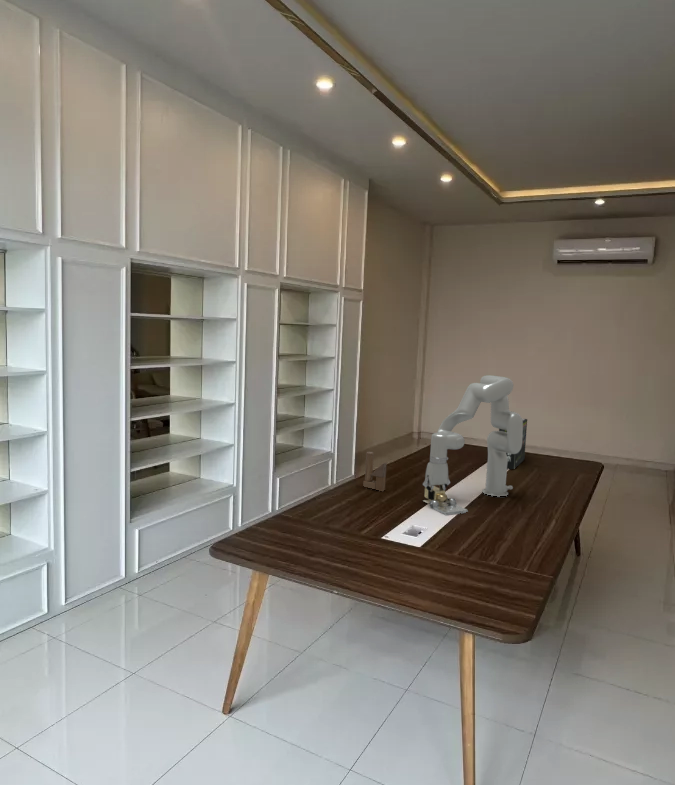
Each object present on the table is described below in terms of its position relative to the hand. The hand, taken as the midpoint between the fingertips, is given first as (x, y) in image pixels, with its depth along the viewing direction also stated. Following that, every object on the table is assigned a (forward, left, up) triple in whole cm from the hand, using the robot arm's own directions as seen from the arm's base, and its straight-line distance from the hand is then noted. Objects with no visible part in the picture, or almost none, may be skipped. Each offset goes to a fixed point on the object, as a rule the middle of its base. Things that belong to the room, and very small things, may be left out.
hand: (435, 498), depth 265 cm
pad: (0, 0, -2) cm, 2 cm away
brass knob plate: (0, 0, -1) cm, 1 cm away
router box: (-96, -55, -3) cm, 111 cm away
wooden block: (+16, -29, -3) cm, 33 cm away
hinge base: (0, +10, -2) cm, 10 cm away
